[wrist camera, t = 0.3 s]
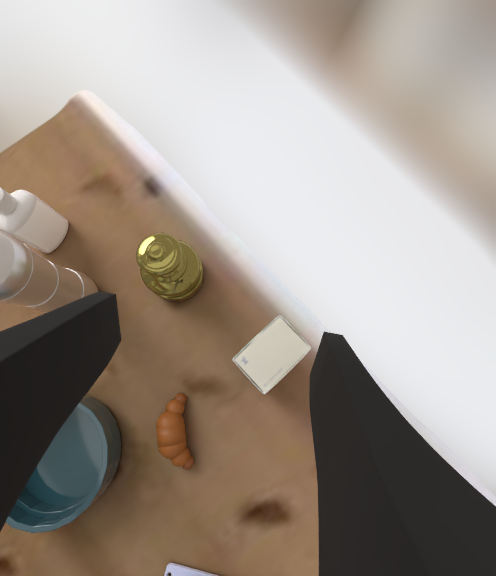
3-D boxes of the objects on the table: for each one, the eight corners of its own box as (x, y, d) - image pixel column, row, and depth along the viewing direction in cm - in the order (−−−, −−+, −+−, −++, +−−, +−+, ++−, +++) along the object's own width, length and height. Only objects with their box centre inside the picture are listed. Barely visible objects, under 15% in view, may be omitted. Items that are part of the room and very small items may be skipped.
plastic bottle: (68, 333, 40) (-106, 305, 20) (48, 291, 41) (-132, 227, 22) (113, 307, 40) (-14, 257, 21) (91, 267, 42) (-46, 184, 22)
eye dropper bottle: (78, 235, 43) (15, 188, 31) (44, 258, 42) (-35, 218, 31) (63, 213, 44) (-4, 160, 32) (29, 235, 43) (-53, 188, 31)
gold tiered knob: (182, 313, 40) (161, 297, 30) (139, 282, 41) (106, 258, 32) (215, 270, 42) (204, 242, 32) (173, 241, 43) (150, 205, 33)
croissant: (165, 471, 36) (157, 481, 33) (158, 396, 38) (150, 399, 35) (196, 465, 36) (190, 475, 33) (187, 391, 38) (181, 394, 35)
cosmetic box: (259, 387, 38) (263, 399, 26) (235, 360, 39) (229, 360, 27) (294, 353, 39) (314, 349, 27) (271, 327, 40) (280, 313, 28)
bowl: (101, 526, 34) (82, 547, 30) (-6, 497, 35) (-37, 514, 31) (136, 406, 37) (123, 411, 34) (37, 382, 38) (13, 384, 34)
